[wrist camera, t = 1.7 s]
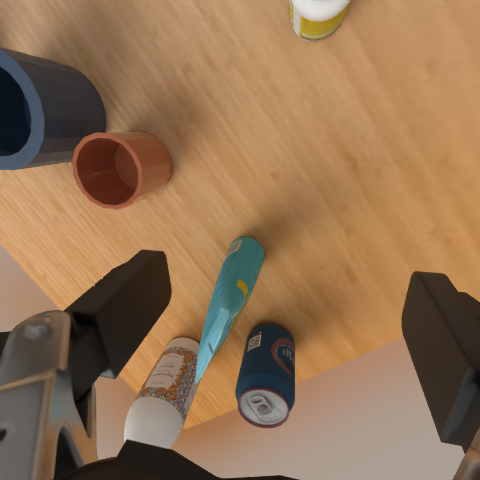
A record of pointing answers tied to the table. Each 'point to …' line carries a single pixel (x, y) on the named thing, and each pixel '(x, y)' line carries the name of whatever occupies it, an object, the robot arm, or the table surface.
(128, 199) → the crock
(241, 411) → the soda can
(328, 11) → the supplement bottle
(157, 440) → the bath foam
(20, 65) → the jar
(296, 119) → the table surface
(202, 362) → the tube
